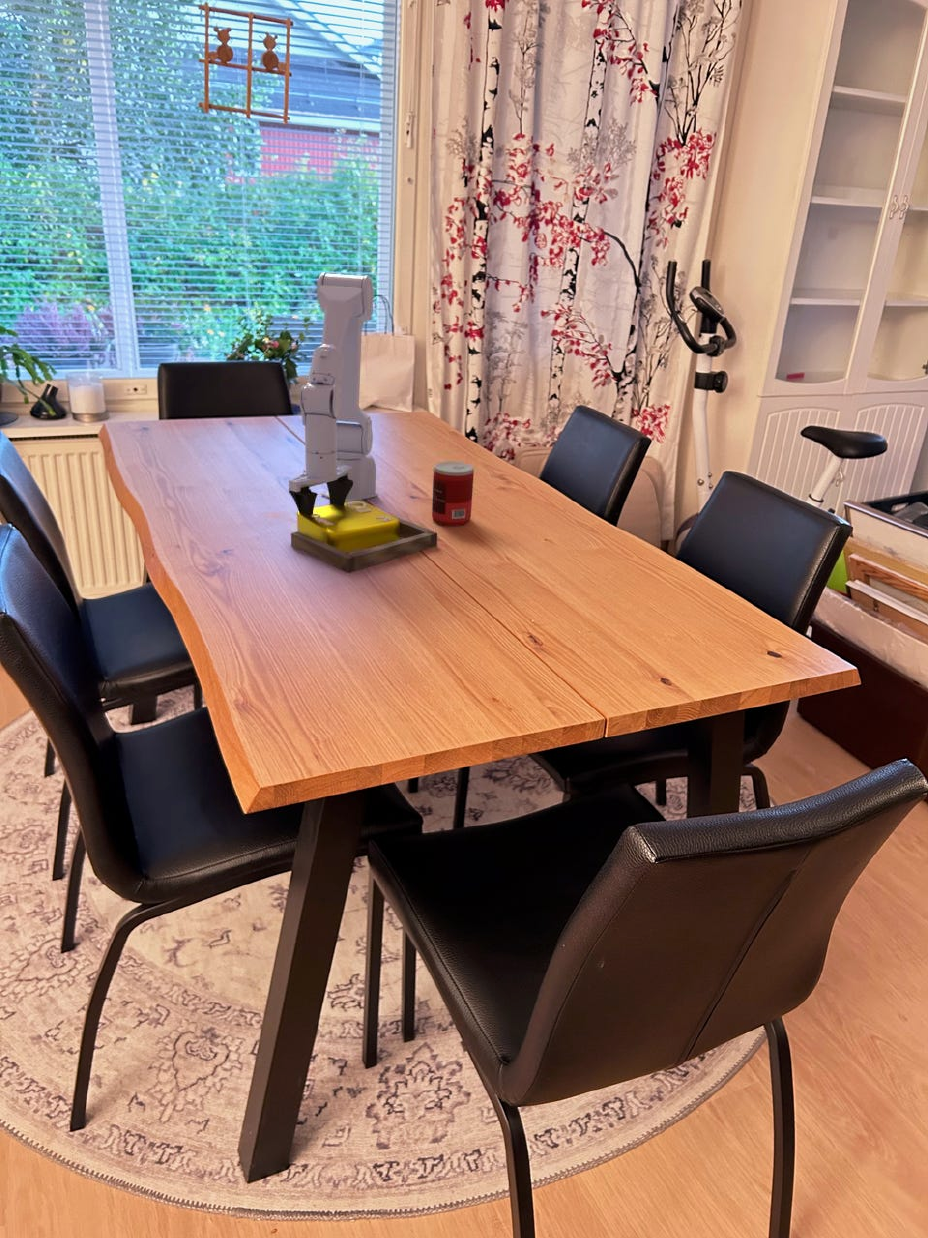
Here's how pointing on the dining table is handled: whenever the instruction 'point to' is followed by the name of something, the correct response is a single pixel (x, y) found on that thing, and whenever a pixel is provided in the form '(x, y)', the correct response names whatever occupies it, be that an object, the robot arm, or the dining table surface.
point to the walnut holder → (412, 543)
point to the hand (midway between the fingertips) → (321, 520)
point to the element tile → (349, 526)
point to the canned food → (452, 493)
